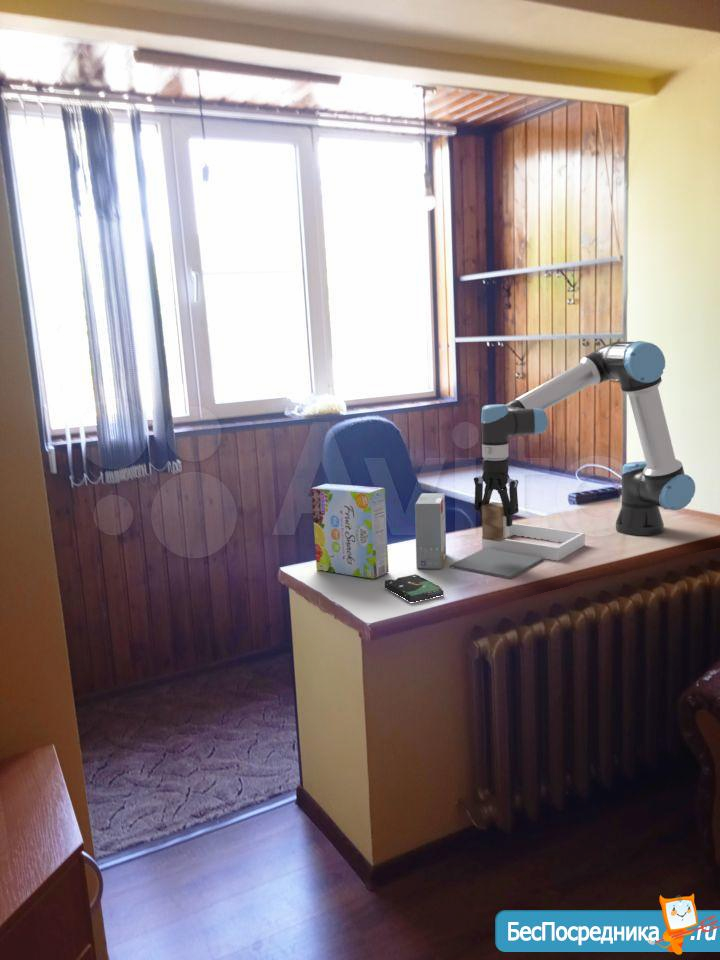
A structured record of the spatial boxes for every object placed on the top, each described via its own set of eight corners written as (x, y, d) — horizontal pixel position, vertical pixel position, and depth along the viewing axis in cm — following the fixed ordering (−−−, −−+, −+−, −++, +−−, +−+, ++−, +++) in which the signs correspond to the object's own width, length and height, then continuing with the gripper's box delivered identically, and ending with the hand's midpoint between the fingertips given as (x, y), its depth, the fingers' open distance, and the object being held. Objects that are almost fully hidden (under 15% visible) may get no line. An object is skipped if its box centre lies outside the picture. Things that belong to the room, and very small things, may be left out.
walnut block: (510, 536, 226) (510, 504, 224) (500, 541, 221) (499, 508, 219) (492, 534, 230) (492, 501, 228) (482, 538, 225) (481, 506, 223)
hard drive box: (442, 569, 224) (440, 504, 220) (416, 569, 226) (413, 504, 222) (446, 554, 239) (444, 492, 235) (422, 553, 241) (420, 492, 237)
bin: (584, 545, 241) (584, 532, 240) (557, 560, 227) (557, 548, 226) (511, 534, 257) (511, 522, 257) (482, 548, 243) (481, 536, 242)
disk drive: (384, 590, 211) (411, 605, 198) (383, 580, 211) (410, 595, 198) (416, 583, 216) (444, 597, 203) (415, 573, 215) (444, 587, 202)
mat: (543, 560, 228) (543, 557, 228) (510, 578, 213) (510, 576, 213) (485, 550, 241) (485, 547, 241) (450, 567, 226) (450, 564, 226)
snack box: (390, 572, 225) (387, 487, 220) (374, 581, 218) (370, 493, 213) (331, 562, 237) (326, 481, 232) (314, 570, 230) (309, 487, 225)
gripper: (460, 457, 224) (462, 533, 229) (518, 462, 212) (519, 542, 216) (473, 453, 230) (475, 527, 234) (531, 458, 217) (531, 536, 222)
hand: (496, 534), depth 225 cm, fingers closed on walnut block, 6 cm apart
